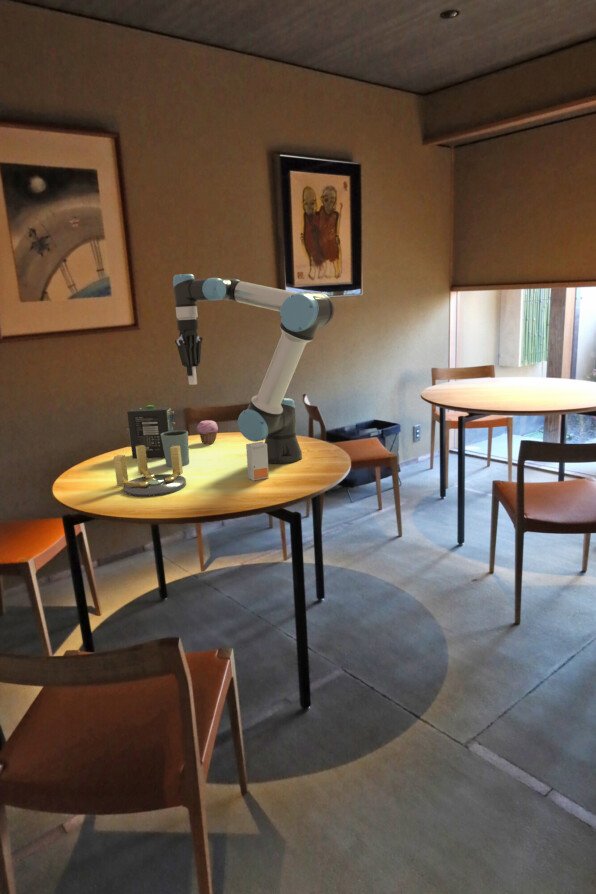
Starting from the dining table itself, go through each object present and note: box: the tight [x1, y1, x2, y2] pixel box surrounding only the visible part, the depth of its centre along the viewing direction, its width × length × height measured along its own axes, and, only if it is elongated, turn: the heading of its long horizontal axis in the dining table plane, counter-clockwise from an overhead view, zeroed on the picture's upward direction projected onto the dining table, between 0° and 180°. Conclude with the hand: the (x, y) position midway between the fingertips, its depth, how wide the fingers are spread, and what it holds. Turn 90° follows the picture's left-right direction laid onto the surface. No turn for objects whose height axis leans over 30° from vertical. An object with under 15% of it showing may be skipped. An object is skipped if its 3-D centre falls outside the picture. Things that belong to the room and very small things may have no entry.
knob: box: [136, 445, 155, 480], centre depth 207 cm, size 11×3×10 cm, turn 30°
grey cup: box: [161, 429, 190, 468], centre depth 228 cm, size 10×10×12 cm
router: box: [126, 404, 176, 460], centre depth 241 cm, size 8×18×20 cm, turn 89°
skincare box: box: [245, 441, 270, 481], centre depth 204 cm, size 6×4×12 cm
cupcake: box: [196, 419, 219, 445], centre depth 260 cm, size 9×9×10 cm
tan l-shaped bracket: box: [165, 446, 183, 482], centre depth 203 cm, size 11×3×10 cm, turn 172°
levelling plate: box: [123, 473, 187, 498], centre depth 200 cm, size 20×20×2 cm
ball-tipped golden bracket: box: [113, 454, 148, 487], centre depth 196 cm, size 11×3×10 cm, turn 71°
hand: (193, 384), depth 224 cm, fingers closed
